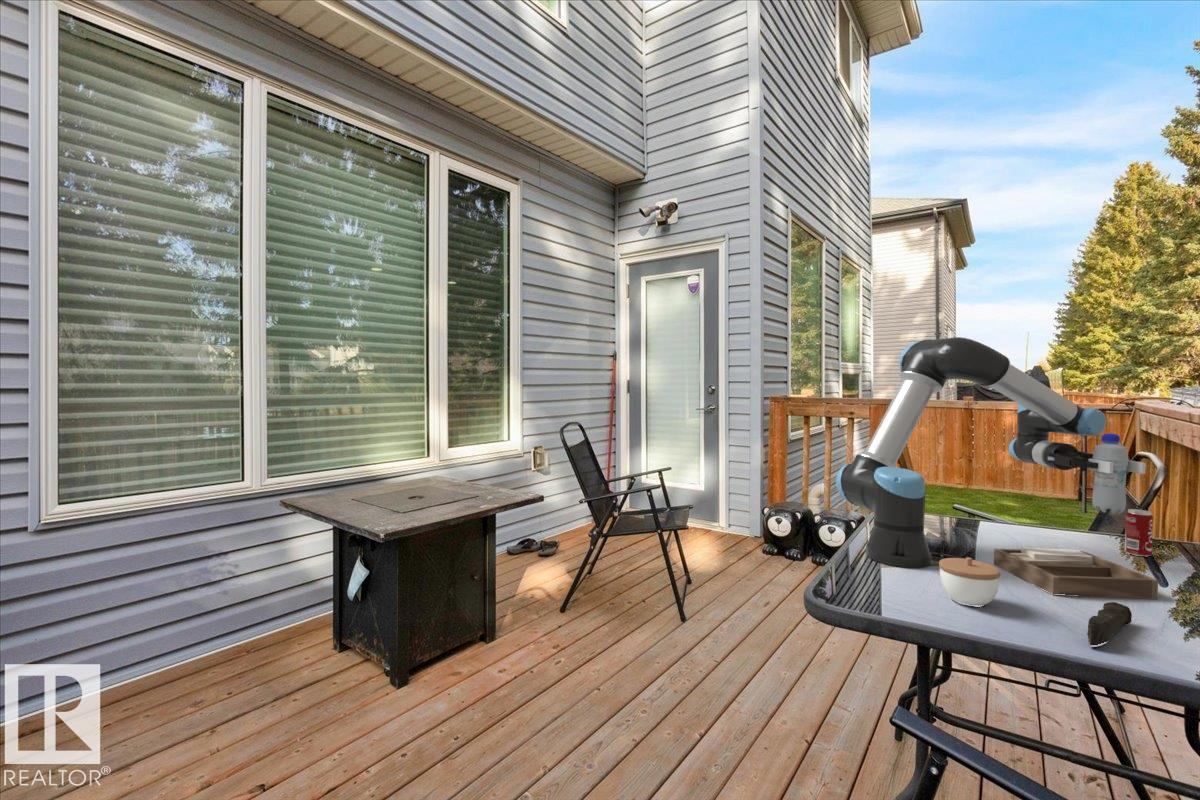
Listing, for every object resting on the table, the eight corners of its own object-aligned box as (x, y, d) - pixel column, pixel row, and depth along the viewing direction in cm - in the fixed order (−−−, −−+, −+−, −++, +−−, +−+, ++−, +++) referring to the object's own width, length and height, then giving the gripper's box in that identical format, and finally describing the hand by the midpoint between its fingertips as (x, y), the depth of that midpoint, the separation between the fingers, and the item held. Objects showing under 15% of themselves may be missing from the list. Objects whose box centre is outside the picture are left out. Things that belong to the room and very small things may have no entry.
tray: (993, 564, 138) (994, 548, 138) (1082, 566, 137) (1082, 551, 136) (1052, 595, 118) (1053, 577, 118) (1157, 598, 117) (1158, 580, 116)
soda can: (1139, 552, 148) (1141, 508, 148) (1157, 558, 143) (1159, 513, 143) (1119, 551, 149) (1120, 508, 149) (1136, 557, 144) (1137, 512, 143)
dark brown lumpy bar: (1104, 618, 107) (1104, 595, 107) (1131, 626, 104) (1132, 602, 104) (1071, 644, 97) (1071, 618, 97) (1100, 653, 93) (1101, 627, 93)
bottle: (1085, 510, 139) (1087, 433, 138) (1098, 507, 142) (1101, 431, 141) (1118, 516, 133) (1121, 435, 132) (1132, 513, 136) (1135, 434, 135)
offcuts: (1006, 562, 137) (1007, 546, 137) (1079, 564, 135) (1079, 548, 135) (1026, 572, 130) (1026, 555, 130) (1102, 574, 128) (1103, 557, 128)
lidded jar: (998, 599, 116) (999, 556, 116) (1000, 616, 107) (1001, 570, 107) (939, 588, 122) (940, 547, 122) (937, 604, 113) (938, 560, 113)
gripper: (1092, 468, 154) (1170, 484, 131) (1019, 467, 156) (1084, 482, 133) (1093, 442, 154) (1171, 453, 131) (1020, 442, 156) (1085, 452, 133)
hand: (1127, 468), depth 132 cm, fingers closed on bottle, 7 cm apart
